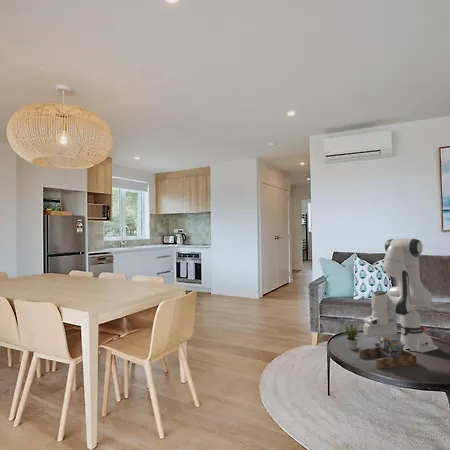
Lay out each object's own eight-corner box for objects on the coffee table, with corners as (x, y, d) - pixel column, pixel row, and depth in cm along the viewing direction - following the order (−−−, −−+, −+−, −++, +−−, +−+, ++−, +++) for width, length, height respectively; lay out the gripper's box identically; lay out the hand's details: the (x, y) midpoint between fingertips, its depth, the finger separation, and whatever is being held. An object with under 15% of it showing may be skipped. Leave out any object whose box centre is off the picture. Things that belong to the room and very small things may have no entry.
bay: (394, 353, 207) (393, 344, 207) (416, 364, 188) (416, 354, 189) (358, 357, 202) (358, 347, 202) (378, 369, 184) (377, 359, 184)
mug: (405, 364, 189) (406, 345, 189) (388, 361, 192) (389, 343, 192) (401, 357, 200) (402, 339, 201) (384, 354, 203) (385, 337, 204)
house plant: (368, 347, 218) (367, 322, 219) (363, 353, 207) (362, 327, 207) (345, 343, 226) (345, 319, 227) (340, 349, 215) (339, 324, 215)
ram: (378, 354, 205) (377, 332, 205) (400, 366, 186) (400, 342, 186) (374, 354, 204) (373, 333, 205) (395, 366, 186) (395, 343, 186)
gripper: (392, 316, 200) (392, 340, 200) (361, 319, 196) (362, 342, 196) (399, 319, 194) (400, 343, 194) (368, 321, 190) (368, 346, 190)
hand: (380, 343), depth 195 cm, fingers closed
